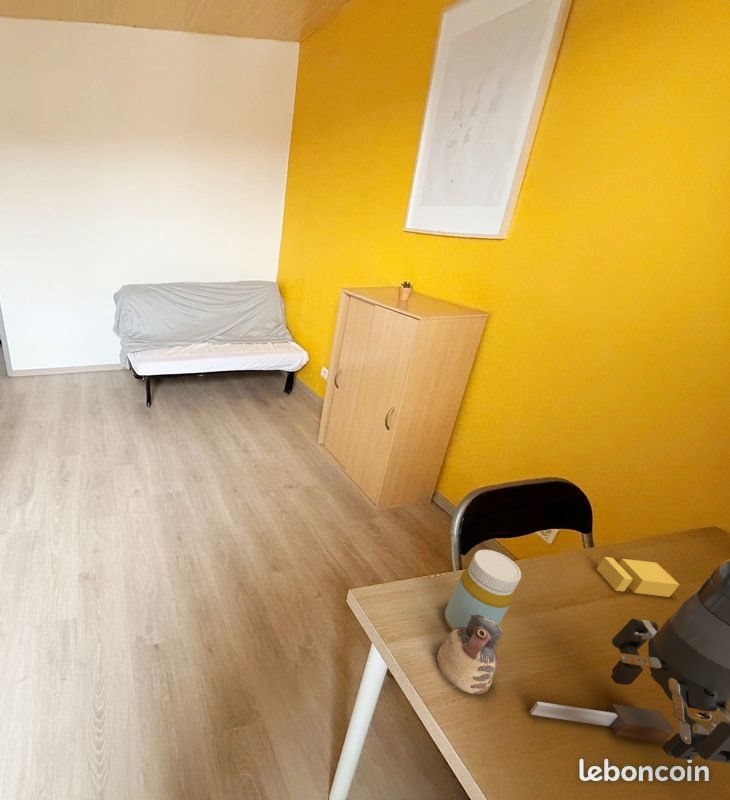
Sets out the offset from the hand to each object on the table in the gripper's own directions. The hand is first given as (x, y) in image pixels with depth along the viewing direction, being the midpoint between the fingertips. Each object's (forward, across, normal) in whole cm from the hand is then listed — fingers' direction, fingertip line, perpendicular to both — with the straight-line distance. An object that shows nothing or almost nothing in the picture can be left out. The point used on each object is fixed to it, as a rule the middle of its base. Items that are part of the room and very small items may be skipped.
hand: (644, 714), depth 55 cm
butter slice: (+4, +27, -16) cm, 32 cm away
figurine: (+4, +5, +20) cm, 21 cm away
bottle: (+4, +13, +16) cm, 21 cm away
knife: (+4, 0, +5) cm, 6 cm away
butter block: (+4, +27, -21) cm, 35 cm away
